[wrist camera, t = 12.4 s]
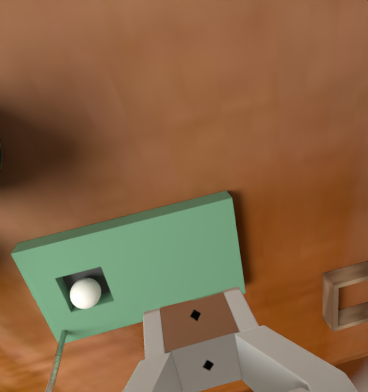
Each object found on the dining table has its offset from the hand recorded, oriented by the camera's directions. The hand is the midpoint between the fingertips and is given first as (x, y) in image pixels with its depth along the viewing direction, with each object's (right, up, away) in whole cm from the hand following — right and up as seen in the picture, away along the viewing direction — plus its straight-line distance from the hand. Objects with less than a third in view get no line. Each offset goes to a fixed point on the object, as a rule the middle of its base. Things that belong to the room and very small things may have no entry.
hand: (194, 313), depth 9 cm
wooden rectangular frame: (+30, -12, +42) cm, 53 cm away
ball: (-14, -9, +31) cm, 35 cm away
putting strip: (-7, -6, +33) cm, 35 cm away
